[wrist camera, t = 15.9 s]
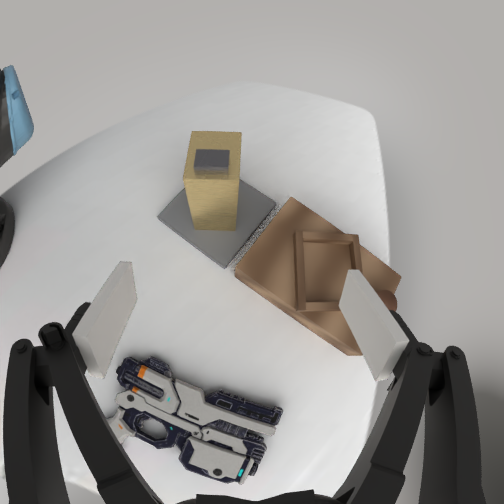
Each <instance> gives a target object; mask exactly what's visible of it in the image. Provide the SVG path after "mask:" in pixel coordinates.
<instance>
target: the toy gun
mask: <svg viewBox="0 0 504 504" xmlns="http://www.w3.org/2000/svg"><path fill="white" fill-rule="evenodd" d="M116 373H117V374H118V376H117V380H118V381H119V383H120V385H121V386H123V387H124V388H126V391H124V392H121V393H117V396H116V399H115V402H116V403H117V404H118V405H119V407H118V409H117V412H116V414H115V415H114V416H113V417H112V418H108V419H106V420H107V422H108V424H109V425H110V427H111V429H112V431H113V432H114V434H115V436H116V437H117V439H118V441H119V442H120V444H122V442H123V441H124V440H125V439H126V437H128V436H131V437H137V438H139V439H141V440H143V441H145V442H147V443H149V444H151V445H153V446H155V447H156V448H157V449H163V448H171V447H173V446H174V445H175V444H176V445H177V447H178V448H179V449H180V450H181V451H182V452H181V454H180V456H179V460H180V462H181V463H182V465H183V466H184V467H185V469H186V470H189V471H191V472H194V473H197V474H200V475H202V476H205V477H208V478H211V479H214V480H217V481H221V482H224V483H227V484H228V483H231V482H238V483H239V484H241V485H242V484H244V482H245V480H246V478H247V476H248V475H251V476H254V475H255V473H256V471H257V468H258V464H260V462H261V459H262V458H263V456H264V452H265V451H266V449H267V447H266V445H265V444H264V443H263V440H264V438H263V437H260V436H259V437H258V436H257V435H254V434H253V435H252V434H251V433H248V434H247V432H248V429H250V430H253V431H256V432H259V433H263V434H266V435H270V436H272V435H274V434H275V431H276V427H275V425H277V424H278V422H279V420H280V418H281V415H282V413H283V409H282V408H280V407H276V406H274V407H273V408H268V407H265V406H262V405H259V404H256V403H253V402H250V401H247V400H244V398H240V399H238V396H236V395H234V397H232V396H230V393H228V392H227V393H226V394H224V393H223V391H222V390H219V392H218V391H215V392H213V393H211V394H209V395H207V396H205V395H204V392H203V389H200V388H198V387H196V386H193V385H191V384H188V383H186V382H184V381H181V380H179V379H176V380H175V381H173V378H171V377H172V372H171V371H170V368H169V365H168V364H166V363H164V362H162V361H160V360H158V359H156V358H154V357H152V356H151V357H150V358H147V359H146V361H143V360H141V361H137V360H135V359H133V358H131V357H127V358H125V359H124V360H123V363H122V365H121V366H119V367H118V368H117V370H116ZM151 418H153V419H155V420H156V421H158V422H160V423H162V424H163V425H164V427H165V428H166V430H167V432H168V434H167V437H166V438H160V439H156V438H154V437H152V436H150V435H148V434H146V433H144V432H142V431H141V430H140V429H139V427H140V428H143V422H144V421H145V420H150V419H151ZM121 446H122V445H121Z"/></svg>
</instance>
